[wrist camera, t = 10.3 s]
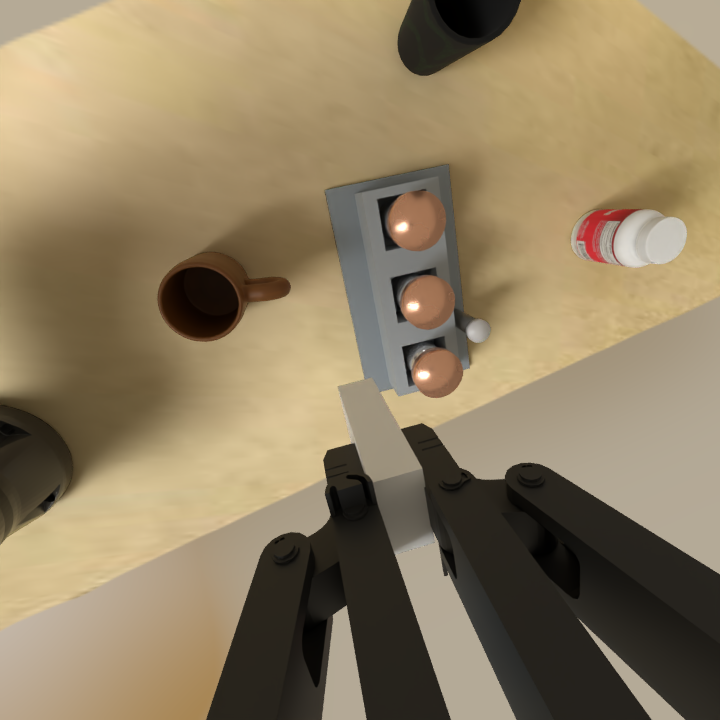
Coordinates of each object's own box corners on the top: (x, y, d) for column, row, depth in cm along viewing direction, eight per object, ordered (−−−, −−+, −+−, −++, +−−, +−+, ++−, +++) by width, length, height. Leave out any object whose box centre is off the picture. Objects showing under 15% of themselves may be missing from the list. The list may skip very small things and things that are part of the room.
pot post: (446, 329, 52) (469, 345, 46) (444, 309, 51) (467, 323, 45) (465, 324, 52) (491, 339, 46) (463, 304, 51) (489, 317, 45)
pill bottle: (620, 216, 52) (704, 217, 41) (600, 264, 53) (676, 277, 43) (580, 203, 50) (657, 201, 40) (561, 253, 52) (630, 264, 42)
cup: (409, 102, 43) (453, 64, 32) (373, 23, 40) (409, -49, 29) (471, 62, 43) (538, 9, 32) (440, -21, 40) (502, -111, 29)
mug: (283, 241, 45) (283, 248, 37) (294, 307, 48) (298, 329, 39) (170, 255, 44) (143, 266, 35) (189, 323, 46) (168, 349, 38)
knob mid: (388, 315, 50) (408, 335, 42) (380, 271, 48) (399, 283, 40) (430, 305, 50) (457, 322, 42) (424, 261, 48) (452, 271, 40)
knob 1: (376, 249, 47) (395, 256, 39) (367, 199, 45) (386, 197, 37) (421, 239, 47) (449, 244, 39) (414, 189, 45) (442, 184, 37)
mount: (367, 392, 53) (375, 410, 49) (324, 190, 44) (330, 187, 40) (467, 366, 55) (485, 380, 50) (446, 164, 46) (465, 159, 41)
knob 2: (398, 374, 52) (419, 403, 45) (391, 335, 50) (411, 358, 43) (438, 364, 53) (465, 390, 45) (432, 325, 51) (460, 345, 43)
